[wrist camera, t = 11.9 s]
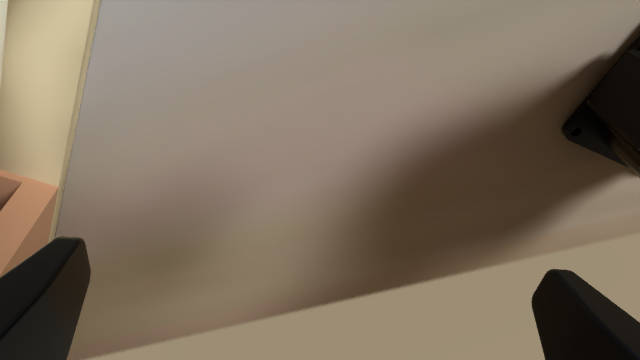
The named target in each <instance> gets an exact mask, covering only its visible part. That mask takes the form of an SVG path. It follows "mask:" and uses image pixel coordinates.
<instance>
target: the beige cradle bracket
mask: <svg viewBox="0 0 640 360" xmlns="http://www.w3.org/2000/svg"><path fill="white" fill-rule="evenodd" d="M7 7H8V0H0V87H1V76H2V64H3V53H4V41H5V30H6V19H7Z"/></svg>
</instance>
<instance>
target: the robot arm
mask: <svg viewBox="0 0 640 360" xmlns="http://www.w3.org/2000/svg"><path fill="white" fill-rule="evenodd" d="M576 127H577V129H576V130H575V131H574V132H571V131H572V130H573V129H574V128H576ZM562 134H563V135H564V136H565V137H566V138H567V139H568V140H570V141H572V142H574V143H576V144H578V145H581V146H583V147H585V148H587V149H590V150H592V151H594V152H596V153H598V154H601V155H603V156H605V157H607V158H609V159H612V160H614V161H616V162H618V163H621V164H623V165H625V166H627V167H629V168H630V169H631V170H632V171H633V172H634V173H635V174H636V175H637V176H638V177H639V178H640V36H639V38H638V39H637V40H636V41H635V42H634V43H633V44H632V46H631V47H630V48H629V49H628V50H627V51H626V53H625V54H624V55H623V56H622V57H621V58H620V60H619V61H618V62H617V63H616V64H615V65H614V67H613V68H612V69H611V70H610V71H609V72H608V74H607V75H606V76H605V77H604V78H603V79H602V81H601V82H600V83H599V84H598V85H597V86H596V88H595V89H594V90H593V91H592V92H591V93H590V95H589V96H588V97H587V98H586V99H585V100H584V102H583V103H582V104H581V105H580V106H579V107H578V109H577V110H576V111H575V112H574V113H573V114H572V116H571V117H570V118H569V119H568V120H567V121H566V123H565V124H564V125H563V127H562ZM90 274H91V270H90V264H89V260H88V255H87V250H86V245H85V242H84V240H83V239H82V238H79V237H63V236H61V237H57V238H55V239H54V240H52V241H51V242H49V243H48V244H46V245H45V246H44V247H42V248H41V249H39V250H38V251H37V252H35V253H34V254H32V255H31V256H30V257H28V258H27V259H25V260H24V261H23V262H21V263H20V264H18V265H17V266H15V267H14V268H13V269H11V270H10V271H8V272H7V273H6V274H4V275H3V276H1V277H0V360H66V359H67V356H68V353H69V350H70V347H71V343H72V340H73V336H74V333H75V329H76V326H77V323H78V319H79V316H80V312H81V309H82V305H83V302H84V299H85V295H86V292H87V288H88V285H89V281H90ZM532 309H533V313H534V317H535V321H536V324H537V329H538V333H539V336H540V340H541V344H542V348H543V352H544V356H545V360H640V323H639V322H638V321H637V320H635V319H634V318H633V317H632V316H630V315H629V314H628V313H626V312H625V311H624V310H622V309H621V308H620V307H618V306H617V305H616V304H614V303H613V302H612V301H610V300H609V299H608V298H607V297H605V296H604V295H602V294H601V293H600V292H599V291H597V290H596V289H595V288H593V287H592V286H591V285H589V284H588V283H587V282H586V281H584V280H583V279H582V278H580V277H579V276H578V275H576V274H575V273H574V272H572V271H568V270H559V269H551V270H549V271H548V272H547V273H546V274H545V276H544V277H543V279H542V281H541V282H540V284H539V286H538V287H537V289H536V291H535V292H534V294H533V297H532Z"/></svg>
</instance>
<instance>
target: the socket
mask: <svg viewBox="0 0 640 360" xmlns="http://www.w3.org/2000/svg"><path fill="white" fill-rule="evenodd" d="M58 188H59V187H57V186H54V185H50V184H47V183H44V182H40V181H37V180H33V179H30V178H27V177H23V176H20V175H16V174H13V173H10V172H6V171H3V170H0V277H1V276H3V275H4V274H6V273H7V272H8V271H10V270H11V269H13V268H14V267H15V266H17V265H18V264H20V263H21V262H23V261H24V260H25V259H27V258H28V257H30V256H31V255H32V254H34V253H35V252H37V251H38V250H39V249H41V248H42V247H44V246H45V245H46V244H48V241H49V236H50V230H51V225H52V220H53V214H54V209H55V204H56V198H57V193H58Z"/></svg>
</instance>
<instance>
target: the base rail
mask: <svg viewBox="0 0 640 360" xmlns="http://www.w3.org/2000/svg"><path fill="white" fill-rule="evenodd" d="M100 2H101V0H8V7H7V19H6V30H5V41H4V53H3V64H2V76H1V87H0V170H3V171H6V172H10V173H13V174H16V175H20V176H23V177H27V178H30V179H33V180H37V181H40V182H44V183H47V184H50V185H54V186H57V187H59V188H58V193H57V198H56V204H55V209H54V214H53V220H52V225H51V230H50V236H49V241H48V243H49V242H51V241H52V240H53V239H54V237H55V232H56V227H57V222H58V217H59V212H60V207H61V202H62V197H63V191H64V186H65V181H66V176H67V171H68V166H69V161H70V156H71V151H72V145H73V140H74V135H75V130H76V125H77V120H78V115H79V110H80V105H81V100H82V94H83V89H84V84H85V79H86V74H87V69H88V64H89V59H90V54H91V48H92V43H93V38H94V33H95V28H96V23H97V18H98V13H99V8H100Z"/></svg>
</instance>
